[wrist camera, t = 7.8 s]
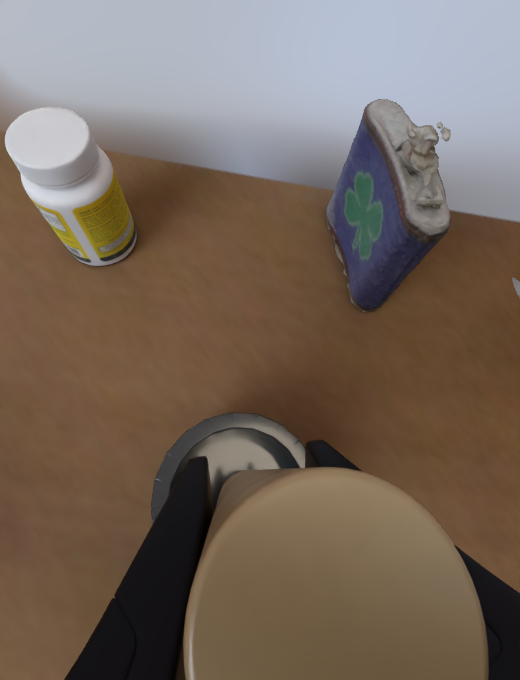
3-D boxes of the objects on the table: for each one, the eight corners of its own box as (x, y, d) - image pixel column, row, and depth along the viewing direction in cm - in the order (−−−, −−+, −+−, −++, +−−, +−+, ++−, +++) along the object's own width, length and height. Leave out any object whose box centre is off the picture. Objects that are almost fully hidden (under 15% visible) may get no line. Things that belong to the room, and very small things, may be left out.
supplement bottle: (140, 211, 27) (104, 103, 19) (135, 268, 25) (93, 176, 17) (72, 209, 26) (5, 97, 18) (62, 267, 25) (-16, 172, 17)
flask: (320, 207, 28) (372, 62, 18) (355, 203, 29) (426, 59, 19) (353, 316, 25) (437, 215, 15) (392, 310, 26) (499, 208, 16)
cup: (278, 598, 19) (290, 629, 16) (139, 540, 20) (119, 556, 16) (323, 451, 22) (342, 447, 18) (200, 402, 23) (195, 389, 19)
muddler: (262, 539, 15) (464, 928, 2) (209, 516, 16) (120, 765, 2) (282, 482, 16) (514, 531, 3) (232, 461, 16) (254, 424, 3)
